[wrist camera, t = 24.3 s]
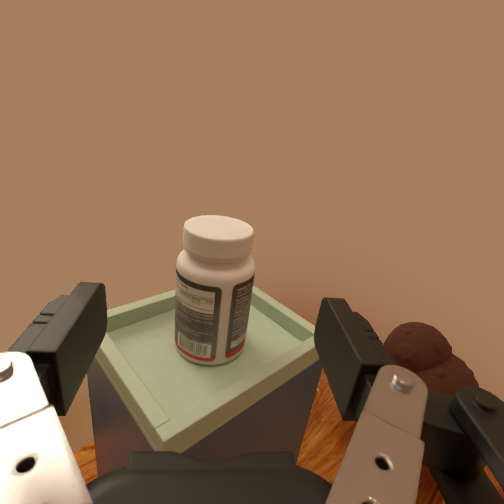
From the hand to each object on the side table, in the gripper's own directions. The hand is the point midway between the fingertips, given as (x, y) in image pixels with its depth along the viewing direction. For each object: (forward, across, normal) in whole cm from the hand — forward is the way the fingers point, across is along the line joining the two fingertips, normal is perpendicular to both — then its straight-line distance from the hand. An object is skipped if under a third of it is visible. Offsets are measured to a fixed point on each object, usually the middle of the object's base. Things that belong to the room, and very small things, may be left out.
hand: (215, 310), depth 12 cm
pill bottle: (+8, 0, +8) cm, 11 cm away
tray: (+8, 0, +8) cm, 11 cm away
